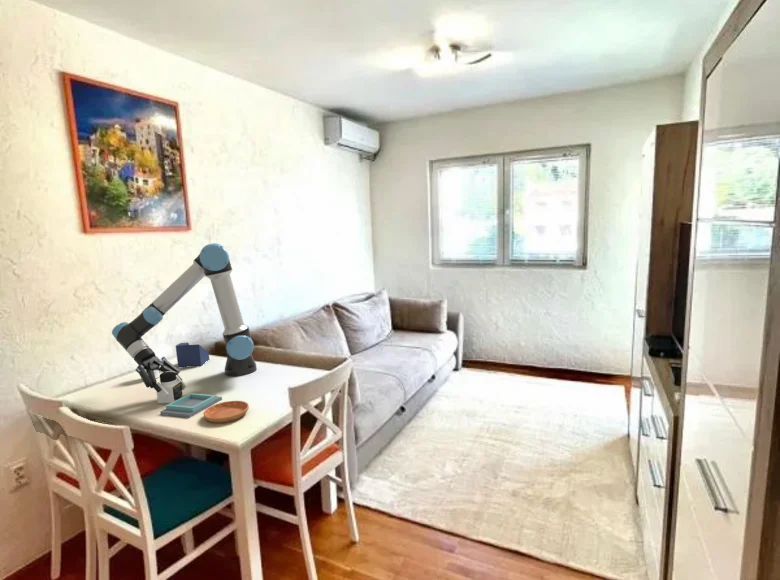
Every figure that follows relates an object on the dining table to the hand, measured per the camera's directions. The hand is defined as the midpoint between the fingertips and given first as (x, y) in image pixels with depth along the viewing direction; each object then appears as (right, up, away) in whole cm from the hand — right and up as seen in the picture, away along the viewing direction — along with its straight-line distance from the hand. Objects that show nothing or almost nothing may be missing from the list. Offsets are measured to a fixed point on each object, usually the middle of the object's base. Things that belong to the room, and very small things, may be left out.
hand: (175, 391), depth 180 cm
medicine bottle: (-3, -4, +1) cm, 5 cm away
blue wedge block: (-17, +2, +54) cm, 57 cm away
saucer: (+28, -5, -17) cm, 33 cm away
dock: (+10, -4, -7) cm, 13 cm away
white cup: (-28, -1, +32) cm, 43 cm away
